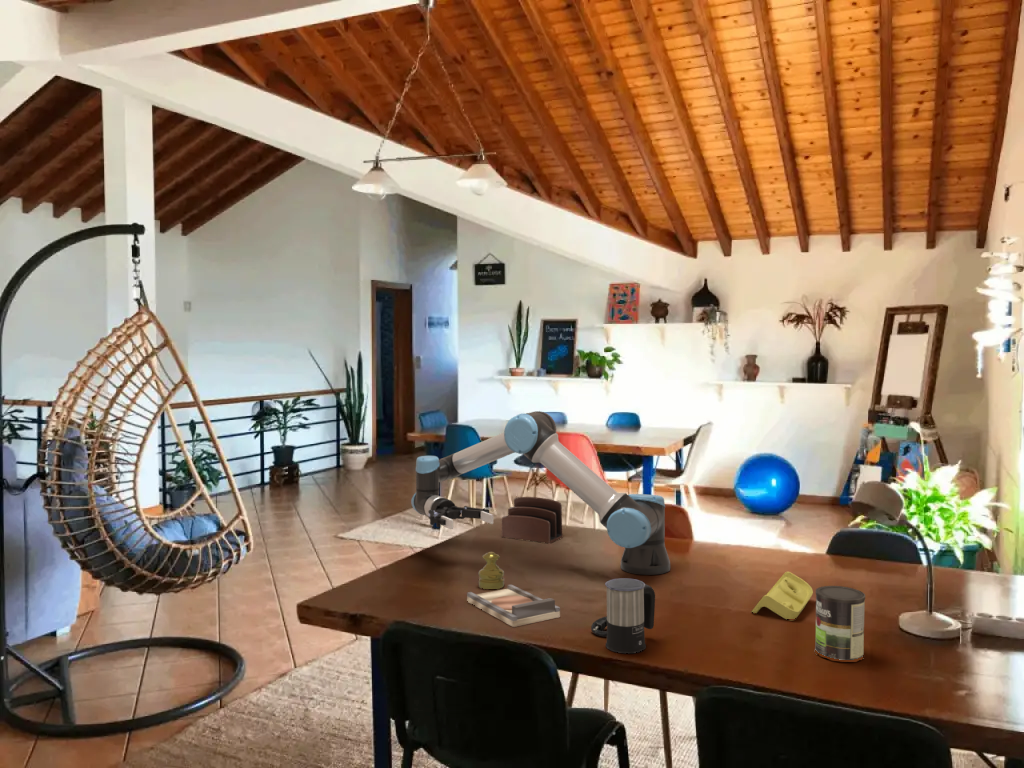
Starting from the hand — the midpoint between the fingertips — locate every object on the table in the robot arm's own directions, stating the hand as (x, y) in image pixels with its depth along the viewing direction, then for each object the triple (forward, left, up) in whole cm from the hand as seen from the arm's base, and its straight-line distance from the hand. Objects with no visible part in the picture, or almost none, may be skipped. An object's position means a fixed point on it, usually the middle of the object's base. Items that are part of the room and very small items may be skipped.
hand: (472, 522), depth 245 cm
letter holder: (+8, -54, -17) cm, 57 cm away
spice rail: (-24, +20, -17) cm, 35 cm away
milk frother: (-57, +29, -17) cm, 66 cm away
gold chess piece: (-9, +5, -17) cm, 20 cm away
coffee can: (-104, +14, -17) cm, 106 cm away
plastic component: (-87, -13, -17) cm, 90 cm away
